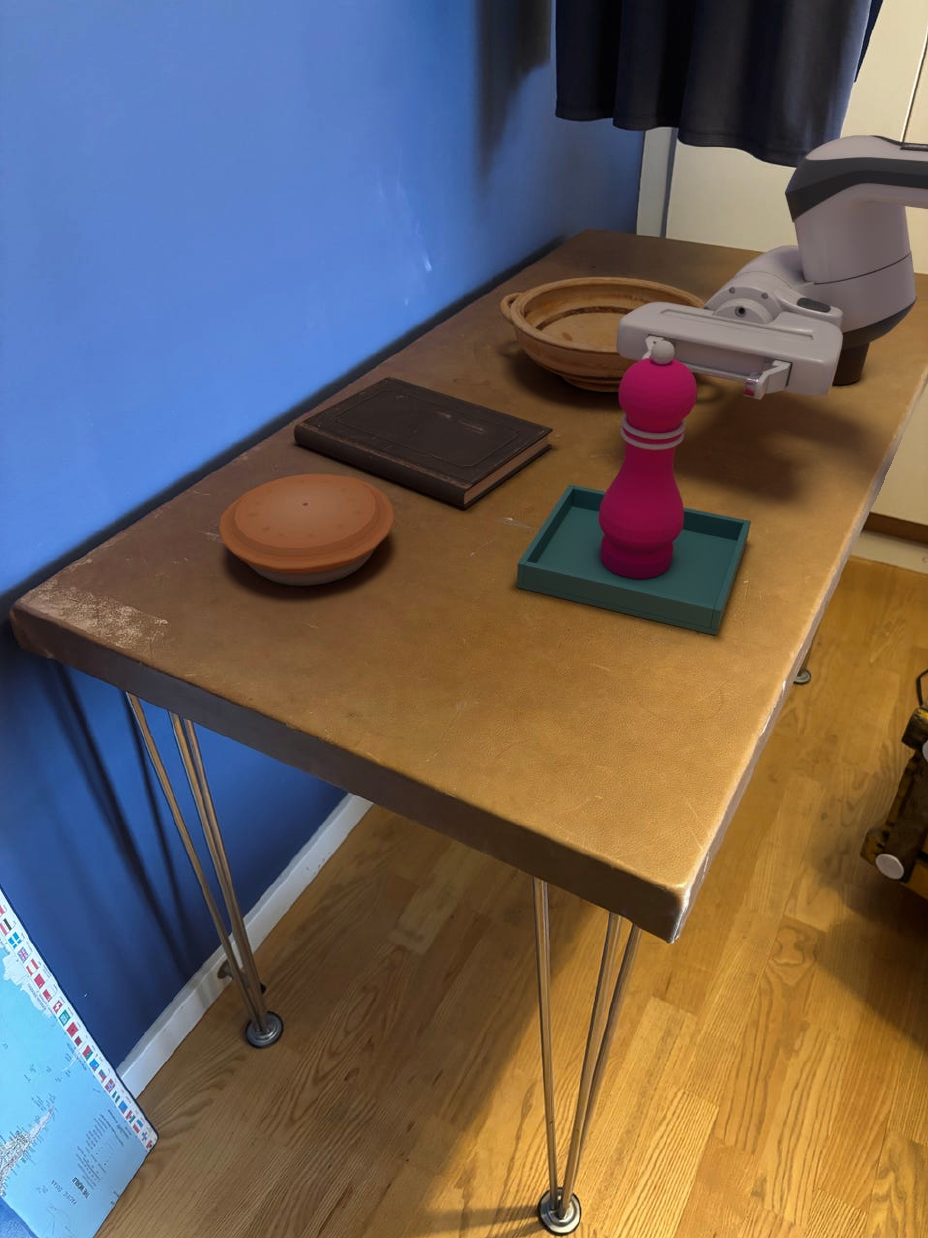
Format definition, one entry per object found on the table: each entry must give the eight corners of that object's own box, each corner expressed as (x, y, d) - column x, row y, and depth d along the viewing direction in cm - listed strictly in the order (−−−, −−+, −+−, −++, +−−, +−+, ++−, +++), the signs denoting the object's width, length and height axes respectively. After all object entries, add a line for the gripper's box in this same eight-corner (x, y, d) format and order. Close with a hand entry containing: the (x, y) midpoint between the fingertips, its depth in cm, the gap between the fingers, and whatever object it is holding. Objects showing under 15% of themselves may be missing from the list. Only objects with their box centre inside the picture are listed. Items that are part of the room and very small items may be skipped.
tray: (745, 544, 84) (751, 520, 82) (716, 635, 74) (721, 610, 72) (567, 507, 89) (569, 484, 87) (516, 587, 79) (517, 563, 77)
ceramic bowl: (753, 364, 115) (765, 301, 110) (679, 441, 99) (690, 372, 94) (547, 319, 128) (550, 260, 123) (453, 381, 112) (451, 317, 107)
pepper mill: (591, 578, 79) (613, 357, 66) (597, 533, 84) (618, 320, 72) (676, 587, 78) (714, 363, 65) (676, 540, 83) (711, 326, 71)
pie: (191, 553, 83) (180, 506, 80) (323, 489, 92) (318, 445, 89) (296, 626, 75) (288, 576, 72) (430, 548, 84) (428, 501, 81)
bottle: (801, 381, 111) (842, 207, 99) (804, 360, 116) (843, 191, 103) (860, 389, 109) (909, 212, 97) (860, 366, 114) (907, 196, 102)
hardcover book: (389, 393, 109) (388, 375, 108) (551, 447, 99) (552, 428, 97) (294, 445, 99) (292, 426, 98) (463, 511, 89) (462, 491, 87)
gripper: (649, 276, 91) (593, 321, 82) (861, 312, 83) (825, 367, 74) (642, 337, 95) (587, 387, 86) (843, 378, 87) (807, 437, 78)
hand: (699, 378), depth 80 cm, fingers open, 8 cm apart
